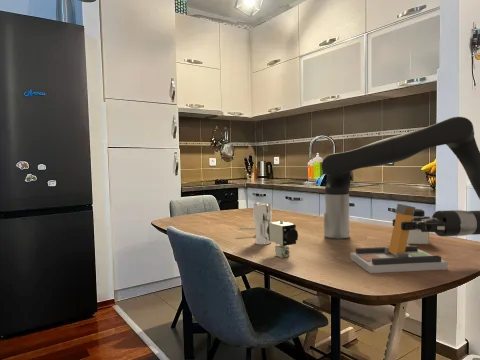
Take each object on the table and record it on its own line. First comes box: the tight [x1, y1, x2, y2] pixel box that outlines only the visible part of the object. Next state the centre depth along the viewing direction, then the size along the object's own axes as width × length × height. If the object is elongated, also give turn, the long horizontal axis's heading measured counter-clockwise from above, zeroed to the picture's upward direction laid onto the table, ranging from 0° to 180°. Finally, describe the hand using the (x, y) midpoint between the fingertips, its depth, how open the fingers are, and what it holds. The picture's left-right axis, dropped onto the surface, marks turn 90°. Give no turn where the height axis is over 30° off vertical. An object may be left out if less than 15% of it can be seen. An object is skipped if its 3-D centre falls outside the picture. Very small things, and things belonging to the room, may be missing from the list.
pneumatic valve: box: [267, 219, 299, 259], centre depth 115 cm, size 6×12×12 cm, turn 28°
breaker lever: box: [388, 203, 416, 256], centre depth 103 cm, size 3×5×15 cm, turn 4°
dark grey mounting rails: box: [355, 245, 442, 265], centre depth 103 cm, size 19×13×1 cm
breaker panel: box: [350, 246, 449, 274], centre depth 103 cm, size 22×14×4 cm, turn 93°
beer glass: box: [252, 202, 273, 246], centre depth 134 cm, size 7×7×15 cm
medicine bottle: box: [406, 208, 430, 245], centre depth 128 cm, size 7×7×12 cm
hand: (397, 224), depth 103 cm, fingers closed on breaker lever, 4 cm apart
